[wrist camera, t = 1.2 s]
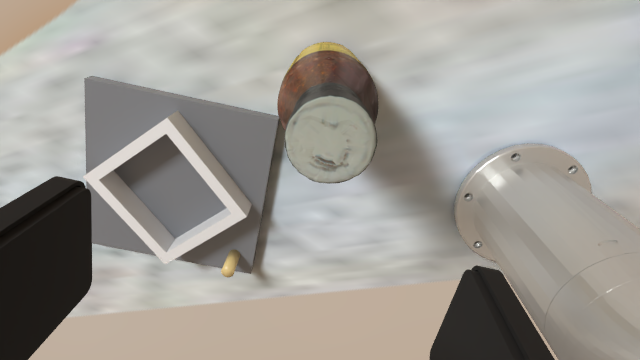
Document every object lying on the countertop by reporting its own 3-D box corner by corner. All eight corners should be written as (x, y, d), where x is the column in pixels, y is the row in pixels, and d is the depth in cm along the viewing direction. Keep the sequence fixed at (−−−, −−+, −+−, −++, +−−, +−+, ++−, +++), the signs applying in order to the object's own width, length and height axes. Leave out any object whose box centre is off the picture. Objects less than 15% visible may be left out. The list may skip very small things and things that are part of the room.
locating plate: (279, 116, 37) (273, 129, 33) (252, 266, 44) (245, 292, 40) (92, 75, 36) (63, 84, 32) (93, 236, 43) (70, 259, 39)
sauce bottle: (324, 125, 37) (316, 241, 19) (276, 74, 36) (218, 149, 18) (379, 76, 36) (429, 154, 17) (331, 20, 34) (331, 40, 16)
